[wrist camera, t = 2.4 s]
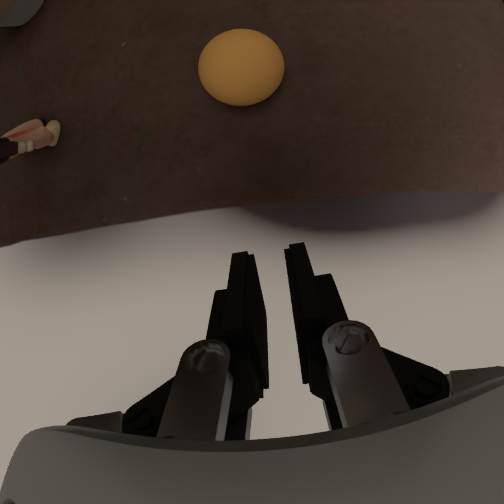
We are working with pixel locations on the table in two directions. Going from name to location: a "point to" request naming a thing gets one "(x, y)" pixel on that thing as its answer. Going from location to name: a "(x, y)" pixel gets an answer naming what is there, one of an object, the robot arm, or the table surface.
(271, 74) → the ball
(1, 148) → the grandmother figurine
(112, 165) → the table surface
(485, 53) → the table surface
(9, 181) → the table surface
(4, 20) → the coffee cup
